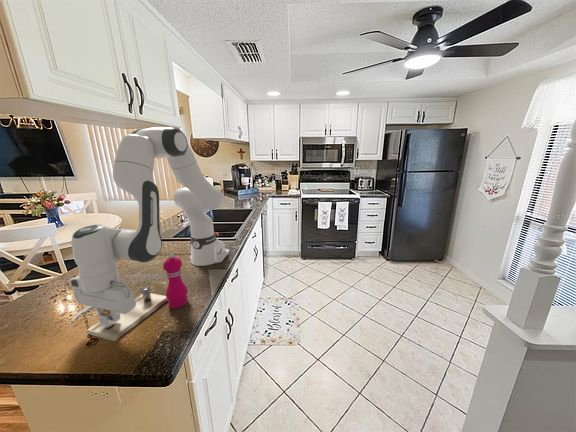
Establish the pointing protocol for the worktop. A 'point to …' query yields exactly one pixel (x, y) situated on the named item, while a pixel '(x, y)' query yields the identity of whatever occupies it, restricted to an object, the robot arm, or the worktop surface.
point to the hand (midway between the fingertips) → (110, 318)
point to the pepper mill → (175, 282)
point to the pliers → (82, 312)
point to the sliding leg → (106, 318)
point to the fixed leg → (146, 293)
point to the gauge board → (128, 318)
